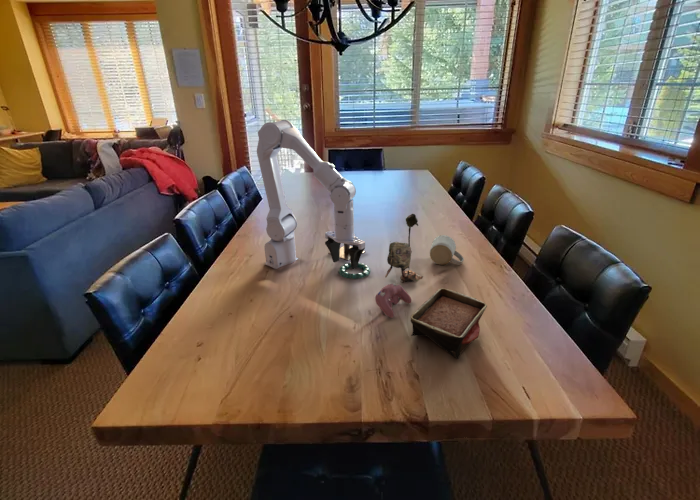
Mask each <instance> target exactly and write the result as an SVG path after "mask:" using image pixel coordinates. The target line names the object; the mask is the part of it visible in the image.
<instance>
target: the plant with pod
mask: <svg viewBox="0 0 700 500" xmlns="http://www.w3.org/2000/svg"><path fill="white" fill-rule="evenodd" d="M418 221H419V220H418V218H417V216H416V214H415V213H413V212H412V213H410V214H409V215H407V216H406V217H405V223H406V225H407V227H408V237H407V238H408V243H407V242H399V241H393V242H390V243H389V247H388V254H387V259H386V262H387V264H388V265H389V266H390V267H389V268H388V270H387V271H386V274H385V278H387V277H388V276H389V274H390V273H391V271H392V270H393V268H396V269H400V270H401V275H400V281H399V283H401V284H404V283H406V284H407V283H416V282H419V281H420V280H422V279H423V277H424V276H422V275H419V274H417V273H416V272H415V271H413V270H410V264H411V259H412V252H413V251H412V246H411V228H413V227H414V226H417V227H418V226H419V223H418Z"/></svg>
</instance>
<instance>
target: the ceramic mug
mask: <svg viewBox="0 0 700 500" xmlns="http://www.w3.org/2000/svg"><path fill="white" fill-rule="evenodd" d="M456 249H457V245H456V242H455V240H454V239H453V237H450V236H449V235H445V234H440V235H437V236H436V237H435V238H434V239H433V241H432V243H431V246H430V250H429V257H430V259H431V261H432V263H435V264H437V265H440V266H443V265H447V264H449V263H451V264H454V265H456V266H460V265H462V264H463V262H464V260H465V258H464V257H463V256H462V254H461V253H460V252H458V251H457V250H456ZM454 257H456V258H457V259H458V260H457V259H455V258H454Z"/></svg>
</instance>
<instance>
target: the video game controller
mask: <svg viewBox="0 0 700 500" xmlns="http://www.w3.org/2000/svg"><path fill="white" fill-rule="evenodd" d="M374 298H375V299H374V301H375V304H376V306H378V307H379V308H380V310H381V312H383V314H384V315H386V316H387V317H388V318H390V319H392V318H394V317H395V312H394V310H393V305H398V304H399V303H400V300H402V301H403V302H404V303H406V304H407V305H410V304H411V303H412V301H413V300H412V297H411V295H410V294H409V293H408V292H407V291H406V290H405V289H404V287H403V286H402V285H400V284H399V283H395V282H393V283H390V284H386V285H385V286H383V287H382V288H381V289H380V290H379V292H378V293H376V294H375V297H374ZM399 299H400V300H399Z"/></svg>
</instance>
